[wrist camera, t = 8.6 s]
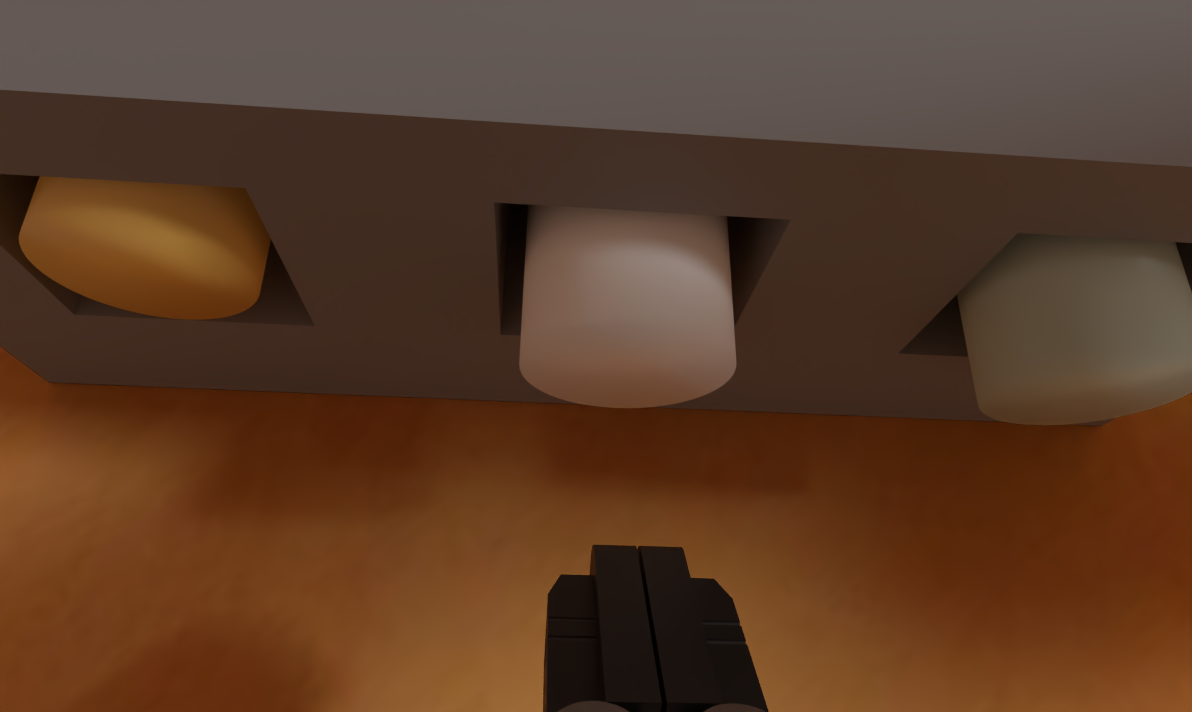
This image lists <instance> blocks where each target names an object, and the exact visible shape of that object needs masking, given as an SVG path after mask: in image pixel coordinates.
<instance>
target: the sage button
mask: <svg viewBox="0 0 1192 712" xmlns="http://www.w3.org/2000/svg"><path fill="white" fill-rule="evenodd" d="M957 299H958V304H959V309H960V315H961V320H962V325H963V330H964V335H965V341H966V346H967V351H968V356H969V361H970V367H971V372H972V377H973V382H974V388H975V393H976V398H977V403H978V407H979V409H980V410H981V412H982V413H984V414H985V415H987V416H988V417H991V418H993V419H996V420H999V421H1003V422H1008V423H1014V424H1023V425H1065V424H1077V423H1086V422H1093V421H1100V420H1106V419H1112V418H1117V417H1122V416H1126V415H1130V414H1134V413H1139V412H1142V411H1146V410H1149V409H1153V408H1156V407H1159V406H1162V405H1165V404H1167V403H1170V402H1172V401H1175V400H1177V399H1180V398H1182V397H1184V396H1186V395H1188V394H1190V393H1192V292H1191V289H1190V286H1189V283H1188V280H1187V276H1186V273H1185V270H1184V267H1183V264H1182V261H1181V258H1180V255H1179V252H1178V249H1177V246H1176V243H1175V242H1165V241H1147V240H1130V239H1113V238H1096V237H1079V236H1061V235H1044V234H1027V233H1017V234H1016V235H1015V236H1014V237H1013V238H1012V239H1011V240H1010V242H1009V243H1008V244H1007V245H1006V246H1005V247H1004V248H1003V249H1002V250H1001V251H1000V252H999V253H998V254H997V255H996V256H995V257H994V258H993V259H992V260H991V261H990V262H989V263H988V264H987V265H986V266H985V267H984V268H983V269H982V270H981V271H980V272H979V273H978V274H977V275H976V276H975V277H974V278H973V279H972V280H971V281H970V282H969V283H968V284H967V285H966V286H965V287H964V288H963V289H962V290H961V291H960V292H959V293H958V294H957Z"/></svg>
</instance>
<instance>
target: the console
mask: <svg viewBox="0 0 1192 712" xmlns="http://www.w3.org/2000/svg"><path fill="white" fill-rule="evenodd" d="M40 176H45V177H63V178H80V179H97V180H114V181H131V182H149V183H166V184H183V185H200V186H218V187H235V188H246V190H247V192H248V194H249V196H250V198H251V200H252V202H253V204H254V206H255V208H256V210H257V212H258V214H259V216H260V218H261V220H262V222H263V224H264V226H265V228H266V230H267V232H268V234H269V236H270V238H271V242H270V246H269V251H268V256H267V261H266V266H265V271H264V276H263V281H262V285H261V290H260V295H259V297H258V299H257V301H256V302H255V303H254V305H253V306H251V307H250V308H248V309H247V310H245V311H243V312H241V313H238V314H235V315H232V316H228V317H223V318H216V319H204V320H185V319H171V318H163V317H156V316H150V315H145V314H140V313H136V312H131V311H127V310H123V309H120V308H116V307H113V306H110V305H107V304H104V303H101V302H98V301H95V300H93V299H90V298H87V297H85V296H83V295H81V294H78V293H76V292H74V291H72V290H70V289H68V288H66V287H64V286H62V285H60V284H59V283H57V282H55V281H54V280H52V279H51V278H49V277H48V276H46V275H45V274H43V273H42V272H41V271H40V270H38V269H37V268H36V267H35V266H34V265H33V264H32V263H31V262H30V261H29V260H28V259H27V258H26V256H25V254H24V253H23V251H22V249H21V247H20V244H19V234H20V230H21V227H22V225H23V222H24V219H25V216H26V213H27V210H28V208H29V205H30V202H31V199H32V196H33V194H34V191H35V188H36V185H37V182H38V179H39V177H40ZM528 205H545V206H562V207H579V208H596V209H614V210H631V211H648V212H665V213H683V214H700V215H717V216H727V223H728V238H729V254H730V270H731V285H732V301H733V317H734V332H735V348H736V370H735V372H734V374H733V376H732V377H731V378H730V380H728V381H727V382H726V383H725V384H724V385H723V386H721V387H719V388H718V389H716V390H714V391H712V392H710V393H709V394H706V395H704V396H701V397H698V398H695V399H692V400H689V401H685V402H681V403H676V404H670V405H665V406H657V407H658V408H682V409H706V410H731V411H755V412H779V413H803V414H827V415H851V416H876V417H900V418H924V419H948V420H972V421H996V422H1003V421H999V420H996V419H993V418H991V417H988V416H987V415H985V414H984V413H982V412H981V410H980V409H979V407H978V403H977V398H976V393H975V388H974V382H973V377H972V372H971V367H970V361H969V356H968V351H967V346H966V341H965V335H964V330H963V325H962V320H961V315H960V309H959V304H958V299H957V294H958V293H959V292H960V291H961V290H962V289H963V288H964V287H965V286H966V285H967V284H968V283H969V282H970V281H971V280H972V279H973V278H974V277H975V276H976V275H977V274H978V273H979V272H980V271H981V270H982V269H983V268H984V267H985V266H986V265H987V264H988V263H989V262H990V261H991V260H992V259H993V258H994V257H995V256H996V255H997V254H998V253H999V252H1000V251H1001V250H1002V249H1003V248H1004V247H1005V246H1006V245H1007V244H1008V243H1009V242H1010V240H1011V239H1012V238H1013V237H1014V236H1015V235H1016V234H1017V233H1027V234H1044V235H1061V236H1079V237H1096V238H1113V239H1130V240H1147V241H1165V242H1175V243H1176V246H1177V249H1178V252H1179V255H1180V258H1181V261H1182V264H1183V267H1184V270H1185V273H1186V276H1187V280H1188V283H1189V286H1190V289H1191V292H1192V0H0V346H1V347H2V348H3V349H5V350H6V351H7V352H9V353H10V354H11V355H13V356H14V357H15V358H17V359H18V360H19V361H21V362H22V363H23V364H25V365H26V366H27V367H29V368H30V369H31V370H33V371H34V372H35V373H37V374H38V375H39V376H41V377H42V378H43V379H45V380H46V381H48V382H54V383H78V384H102V385H127V386H151V387H175V388H199V389H223V390H247V391H272V392H296V393H320V394H344V395H368V396H392V397H416V398H441V399H465V400H489V401H513V402H537V403H561V404H578V403H574V402H569V401H566V400H562V399H559V398H556V397H554V396H551V395H548V394H546V393H544V392H542V391H540V390H538V389H537V388H535V387H534V386H532V385H531V384H530V383H529V382H528V381H527V380H526V379H525V378H524V377H523V375H522V373H521V371H520V367H519V358H520V340H521V322H522V304H523V286H524V268H525V250H526V232H527V214H528ZM1113 419H1115V418H1112V419H1106V420H1100V421H1093V422H1086V423H1077V424H1069V425H1093V426H1102V425H1104V424H1106V423H1108V422H1110V421H1111V420H1113Z"/></svg>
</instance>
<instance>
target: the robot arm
mask: <svg viewBox="0 0 1192 712" xmlns="http://www.w3.org/2000/svg"><path fill="white" fill-rule="evenodd" d="M745 641H746V640H745V637H744V633H743V630H742V627H741V626H740V621H739V618H738V615H737V612H736V608H735V605H734V602H733V599H732V598H731V597H730V596H729V595H728V594H727V592H726V591H725V590H724V589H723V588H722V587H721V586H720V585H719V584H718V583H717V582H716V581H715V580H714V579H706V578H690V574H689V570H688V566H687V562H686V558H685V554H684V550H683V548H682V547H656V546H639V547H638V549H637V548H636V546H618V545H593V546H592V552H591V564H590V575H560V577H559V578H558V580H557V581H556V583H555V584H554V586H553V587H552V589H551V590H550V592H549V593H548V603H547V621H546V639H545V657H544V687H543V712H768V709H767V705H766V702H765V699H764V696H763V693H762V690H761V687H760V683H759V680H758V677H757V674H756V671H755V668H754V665H753V662H752V658H751V655H750V652H749V649H748V646H747V645H746V643H745Z"/></svg>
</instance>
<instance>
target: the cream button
mask: <svg viewBox="0 0 1192 712" xmlns="http://www.w3.org/2000/svg"><path fill="white" fill-rule="evenodd" d="M519 367H520V371H521V373H522V375H523V377H524V378H525V379H526V380H527V381H528V382H529V383H530V384H531V385H532V386H534V387H535V388H537V389H538V390H540V391H542V392H544V393H546V394H548V395H551V396H554V397H556V398H559V399H562V400H566V401H569V402H574V403H578V404H584V405H590V406H598V407H608V408H646V407H657V406H665V405H670V404H676V403H681V402H685V401H689V400H692V399H695V398H698V397H701V396H704V395H706V394H709V393H710V392H712V391H714V390H716V389H718V388H719V387H721V386H723V385H724V384H725V383H726V382H727V381H728V380H730V378H731V377H732V376H733V374H734V372H735V370H736V348H735V332H734V317H733V301H732V285H731V270H730V254H729V238H728V223H727V216H717V215H700V214H683V213H665V212H648V211H631V210H614V209H596V208H579V207H562V206H545V205H528V214H527V232H526V250H525V268H524V286H523V304H522V322H521V340H520V358H519Z"/></svg>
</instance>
